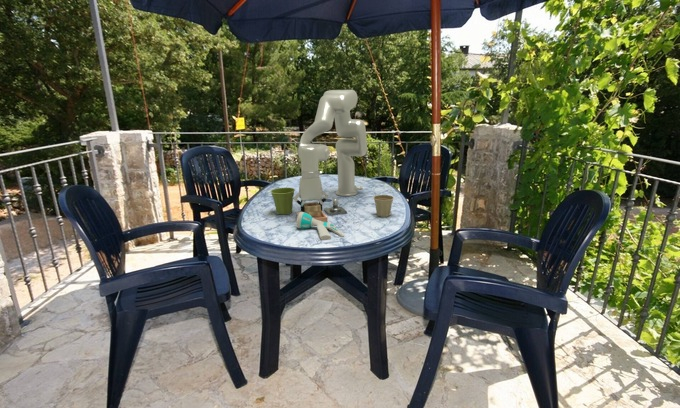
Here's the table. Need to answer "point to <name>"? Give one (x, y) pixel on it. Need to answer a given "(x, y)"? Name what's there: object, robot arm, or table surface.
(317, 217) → the terracotta tray
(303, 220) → the garden hose nozzle
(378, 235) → the table surface
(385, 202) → the flower pot
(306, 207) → the wooden ring
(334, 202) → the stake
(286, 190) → the plant pot
